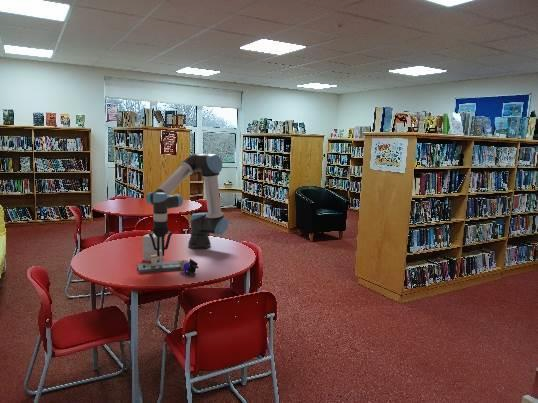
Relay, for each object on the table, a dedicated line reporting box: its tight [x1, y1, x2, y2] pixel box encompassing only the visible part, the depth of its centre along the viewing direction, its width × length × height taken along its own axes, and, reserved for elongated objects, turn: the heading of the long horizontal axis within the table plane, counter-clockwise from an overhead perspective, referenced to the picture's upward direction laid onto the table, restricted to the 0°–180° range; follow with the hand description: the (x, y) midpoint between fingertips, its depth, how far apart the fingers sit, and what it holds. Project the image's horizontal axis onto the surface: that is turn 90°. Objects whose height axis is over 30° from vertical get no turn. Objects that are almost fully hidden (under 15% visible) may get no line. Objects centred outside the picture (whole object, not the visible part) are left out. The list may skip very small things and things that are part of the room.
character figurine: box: [179, 258, 199, 276], centre depth 224 cm, size 8×7×15 cm
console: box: [137, 259, 189, 275], centre depth 232 cm, size 28×12×3 cm, turn 111°
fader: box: [150, 255, 158, 266], centre depth 230 cm, size 3×3×6 cm
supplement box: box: [142, 233, 164, 262], centre depth 248 cm, size 9×9×15 cm
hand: (160, 261), depth 231 cm, fingers closed
